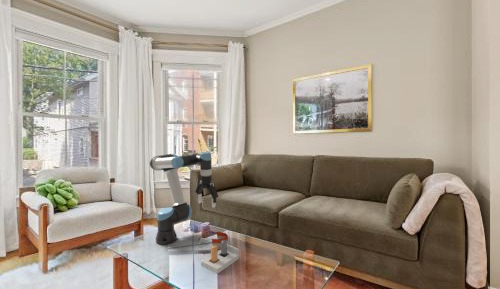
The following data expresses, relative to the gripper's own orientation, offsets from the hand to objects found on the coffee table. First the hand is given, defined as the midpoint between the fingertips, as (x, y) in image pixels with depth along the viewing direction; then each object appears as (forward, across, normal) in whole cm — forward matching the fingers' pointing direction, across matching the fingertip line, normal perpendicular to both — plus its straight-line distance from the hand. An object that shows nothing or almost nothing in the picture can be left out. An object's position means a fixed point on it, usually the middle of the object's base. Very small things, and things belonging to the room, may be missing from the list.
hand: (206, 205), depth 182 cm
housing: (+32, +19, -7) cm, 38 cm away
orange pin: (+32, +18, -12) cm, 38 cm away
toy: (+32, +6, +8) cm, 33 cm away
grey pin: (+32, +18, -2) cm, 37 cm away
